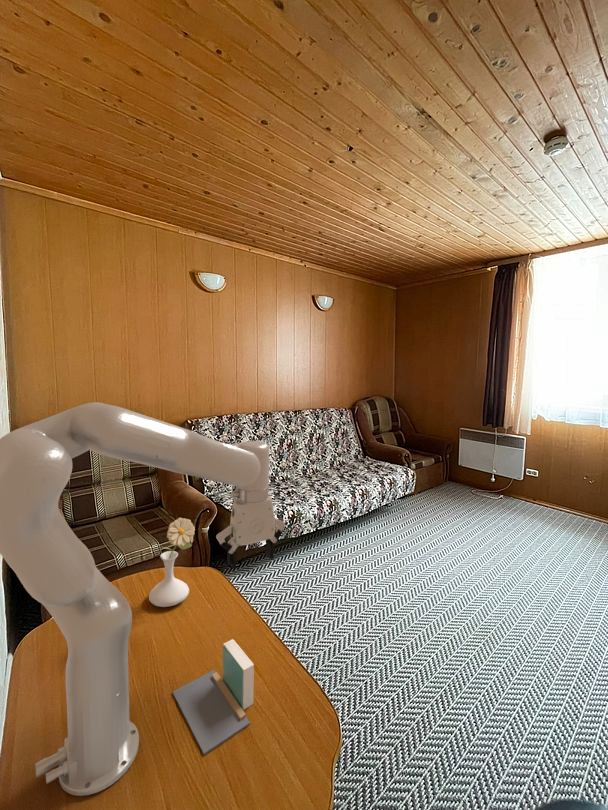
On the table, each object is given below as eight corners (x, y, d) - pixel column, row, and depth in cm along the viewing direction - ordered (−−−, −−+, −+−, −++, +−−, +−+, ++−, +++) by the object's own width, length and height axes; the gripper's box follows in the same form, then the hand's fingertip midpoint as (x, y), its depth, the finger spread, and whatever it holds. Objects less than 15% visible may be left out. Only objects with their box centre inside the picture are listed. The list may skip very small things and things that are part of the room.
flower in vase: (145, 613, 104) (144, 528, 101) (151, 589, 115) (151, 512, 112) (194, 607, 107) (194, 525, 105) (195, 584, 118) (195, 509, 116)
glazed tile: (242, 710, 76) (242, 670, 75) (222, 681, 83) (222, 644, 82) (253, 703, 78) (254, 664, 77) (232, 675, 84) (233, 638, 84)
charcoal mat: (204, 755, 67) (204, 750, 67) (172, 693, 79) (172, 689, 79) (249, 724, 73) (250, 719, 73) (214, 671, 85) (214, 667, 85)
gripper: (222, 504, 80) (221, 578, 82) (291, 492, 89) (290, 560, 91) (212, 494, 87) (211, 562, 89) (278, 483, 96) (276, 546, 97)
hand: (251, 561), depth 90 cm, fingers open, 9 cm apart
